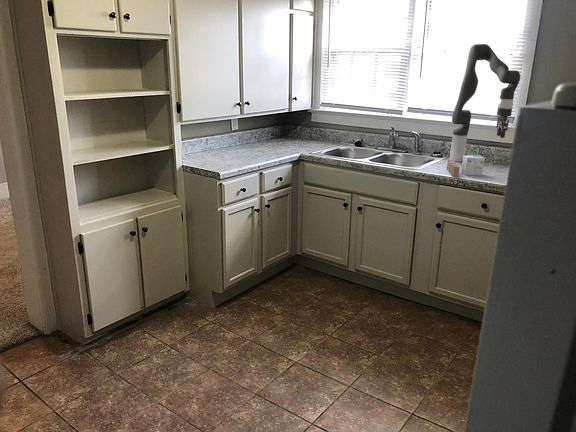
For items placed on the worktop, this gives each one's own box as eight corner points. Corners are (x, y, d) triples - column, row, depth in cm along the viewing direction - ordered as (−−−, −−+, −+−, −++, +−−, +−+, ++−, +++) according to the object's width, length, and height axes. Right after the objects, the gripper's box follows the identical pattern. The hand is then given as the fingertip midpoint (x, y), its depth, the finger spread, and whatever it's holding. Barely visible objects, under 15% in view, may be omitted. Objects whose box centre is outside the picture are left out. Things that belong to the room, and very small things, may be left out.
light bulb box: (477, 173, 288) (480, 155, 284) (482, 175, 282) (485, 157, 278) (460, 172, 287) (462, 155, 284) (464, 175, 281) (467, 157, 278)
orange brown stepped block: (446, 169, 295) (447, 159, 293) (451, 169, 295) (453, 159, 293) (453, 177, 277) (454, 166, 275) (458, 177, 276) (459, 167, 274)
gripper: (494, 105, 278) (490, 134, 283) (502, 108, 264) (497, 138, 269) (508, 106, 277) (503, 135, 282) (516, 108, 263) (511, 139, 268)
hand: (500, 136), depth 276 cm, fingers open, 6 cm apart
